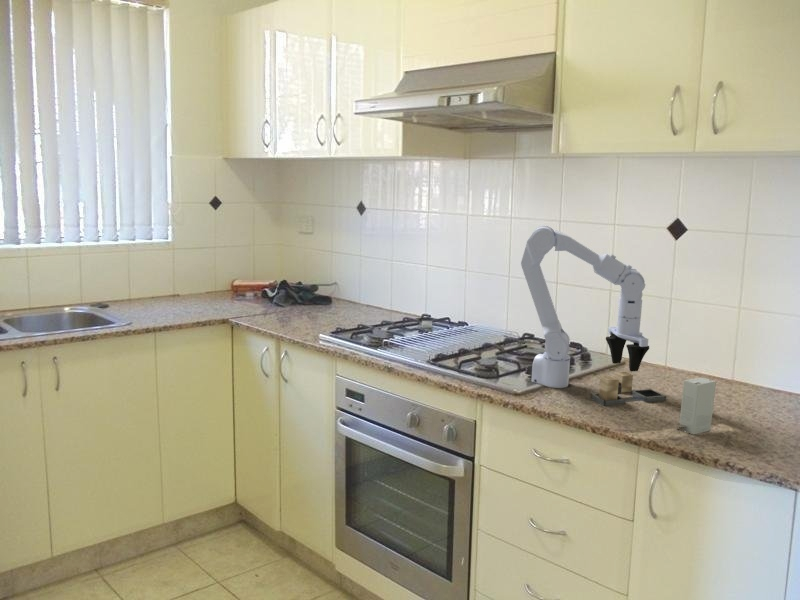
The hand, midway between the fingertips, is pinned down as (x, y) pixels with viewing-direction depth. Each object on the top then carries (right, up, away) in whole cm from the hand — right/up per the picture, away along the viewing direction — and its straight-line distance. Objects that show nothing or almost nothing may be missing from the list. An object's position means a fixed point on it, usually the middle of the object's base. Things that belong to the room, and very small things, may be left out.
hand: (624, 367), depth 186 cm
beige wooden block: (0, -8, +1) cm, 8 cm away
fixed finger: (-7, -8, -8) cm, 13 cm away
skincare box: (+9, -13, -23) cm, 28 cm away
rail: (-1, -9, -6) cm, 11 cm away
